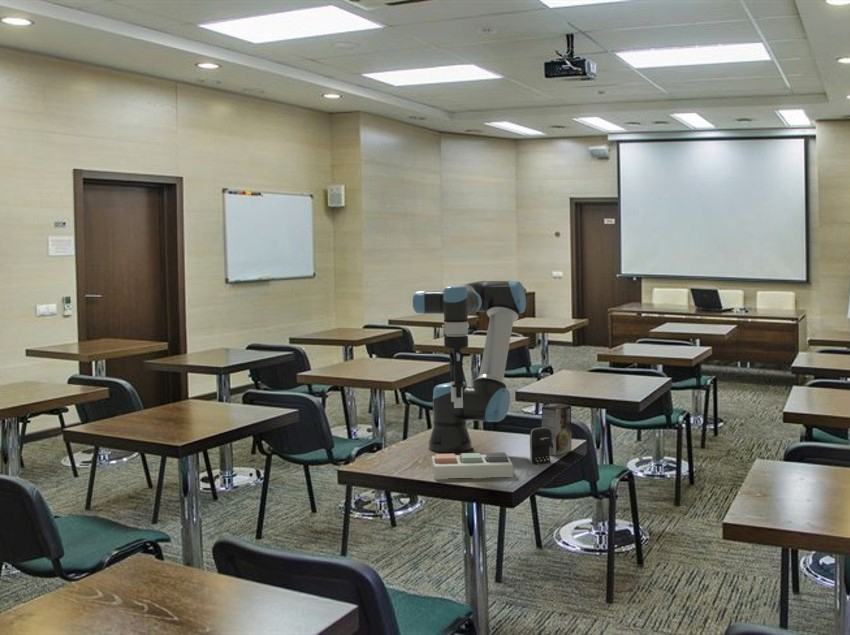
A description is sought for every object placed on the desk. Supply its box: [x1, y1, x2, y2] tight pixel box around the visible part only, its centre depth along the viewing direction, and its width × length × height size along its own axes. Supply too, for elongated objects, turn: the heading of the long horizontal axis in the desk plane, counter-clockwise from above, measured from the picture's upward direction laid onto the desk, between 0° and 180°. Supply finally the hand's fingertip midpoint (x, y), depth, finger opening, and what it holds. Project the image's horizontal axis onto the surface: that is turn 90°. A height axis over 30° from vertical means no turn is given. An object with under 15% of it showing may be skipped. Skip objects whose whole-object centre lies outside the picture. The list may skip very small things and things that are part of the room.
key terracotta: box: [435, 453, 456, 464], centre depth 266 cm, size 6×6×3 cm
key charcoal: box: [485, 451, 509, 462], centre depth 266 cm, size 6×6×3 cm
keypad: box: [431, 453, 514, 480], centre depth 266 cm, size 14×24×4 cm, turn 93°
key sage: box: [460, 452, 482, 463], centre depth 266 cm, size 6×6×3 cm
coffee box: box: [541, 402, 573, 456], centre depth 292 cm, size 9×6×16 cm
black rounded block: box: [529, 427, 552, 465], centre depth 277 cm, size 7×4×11 cm, turn 119°
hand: (456, 404), depth 270 cm, fingers open, 10 cm apart
